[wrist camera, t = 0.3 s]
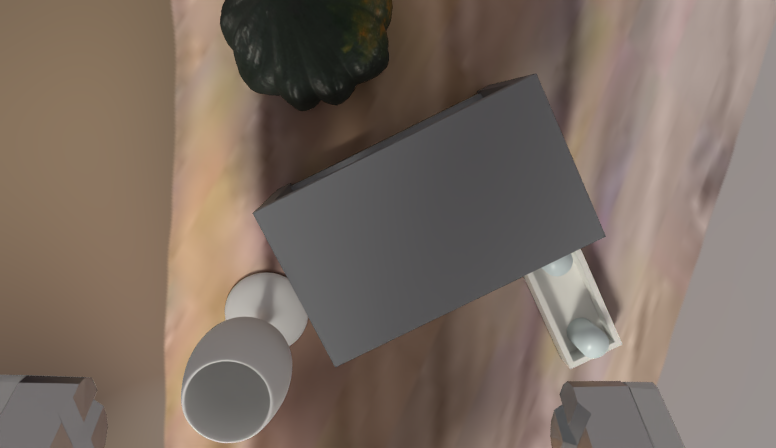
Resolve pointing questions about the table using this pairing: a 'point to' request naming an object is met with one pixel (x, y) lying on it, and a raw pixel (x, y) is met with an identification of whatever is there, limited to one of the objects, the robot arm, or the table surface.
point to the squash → (307, 46)
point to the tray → (573, 309)
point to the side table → (430, 218)
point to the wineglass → (244, 361)
